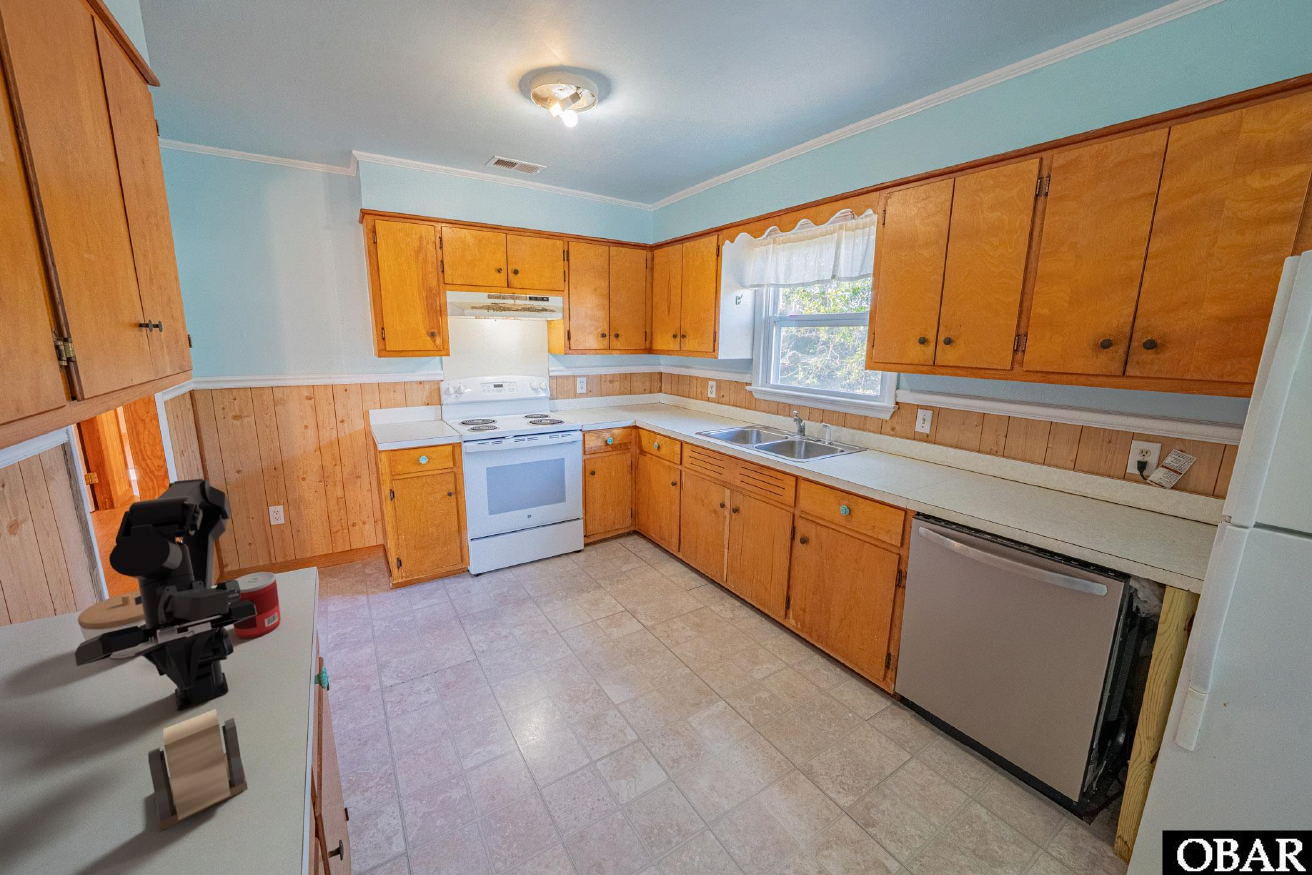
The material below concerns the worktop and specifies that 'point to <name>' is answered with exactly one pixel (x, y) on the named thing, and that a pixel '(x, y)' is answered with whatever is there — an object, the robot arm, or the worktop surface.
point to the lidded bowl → (113, 619)
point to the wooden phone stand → (163, 781)
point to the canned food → (259, 604)
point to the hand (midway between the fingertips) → (187, 688)
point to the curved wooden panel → (196, 763)
